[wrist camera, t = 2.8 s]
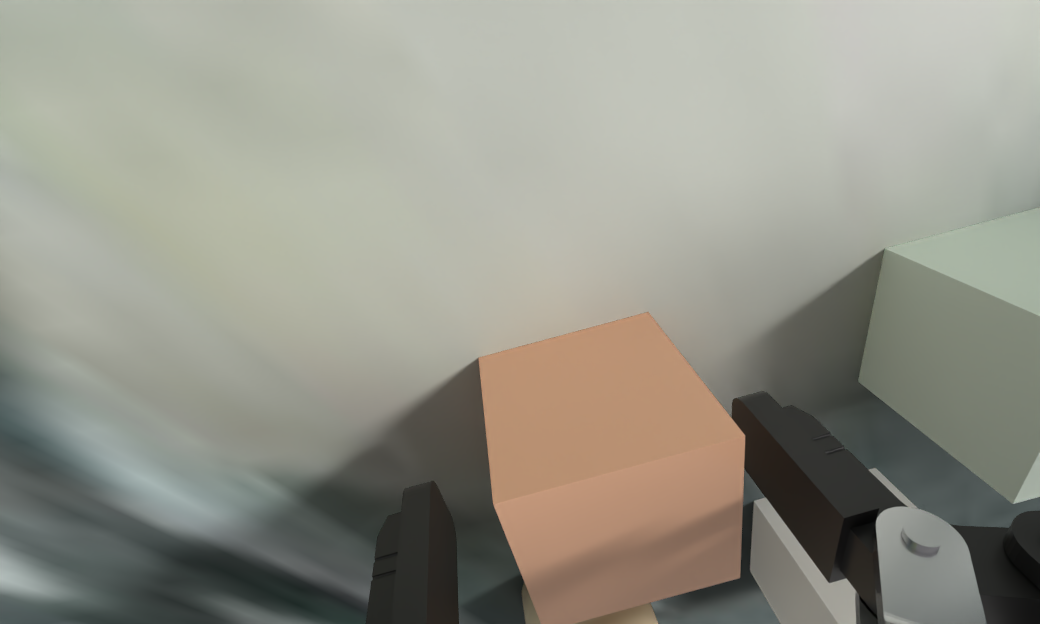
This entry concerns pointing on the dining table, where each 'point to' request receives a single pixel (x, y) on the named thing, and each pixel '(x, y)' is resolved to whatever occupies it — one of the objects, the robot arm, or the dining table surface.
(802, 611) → the cream block
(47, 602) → the dining table surface
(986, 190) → the dining table surface
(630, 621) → the maple cylinder
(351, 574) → the dining table surface
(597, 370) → the terracotta block
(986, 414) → the sage block
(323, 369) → the dining table surface
